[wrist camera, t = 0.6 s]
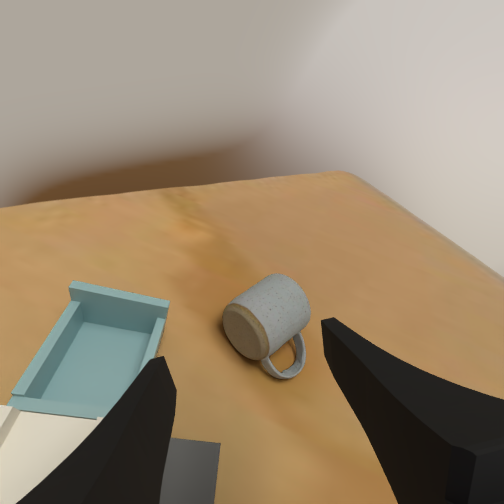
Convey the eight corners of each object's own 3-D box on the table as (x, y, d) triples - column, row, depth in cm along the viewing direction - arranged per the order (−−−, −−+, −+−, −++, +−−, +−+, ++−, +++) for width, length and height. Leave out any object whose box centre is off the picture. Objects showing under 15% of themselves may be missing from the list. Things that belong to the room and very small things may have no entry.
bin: (132, 434, 22) (135, 413, 18) (17, 421, 20) (-7, 395, 17) (163, 331, 29) (170, 301, 25) (79, 316, 28) (73, 280, 24)
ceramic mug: (211, 326, 32) (228, 289, 27) (255, 296, 37) (276, 260, 32) (272, 401, 28) (306, 374, 23) (311, 355, 34) (345, 325, 29)
